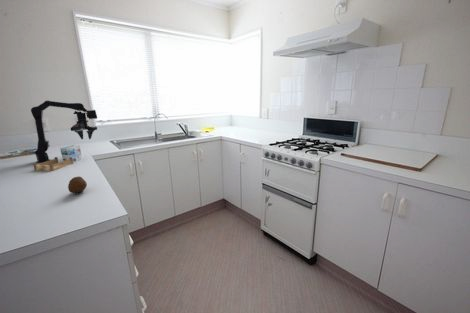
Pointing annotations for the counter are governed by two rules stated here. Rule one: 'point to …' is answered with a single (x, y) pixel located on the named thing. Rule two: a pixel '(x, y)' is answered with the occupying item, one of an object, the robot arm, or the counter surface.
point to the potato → (77, 185)
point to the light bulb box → (71, 152)
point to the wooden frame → (52, 165)
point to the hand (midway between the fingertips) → (86, 139)
